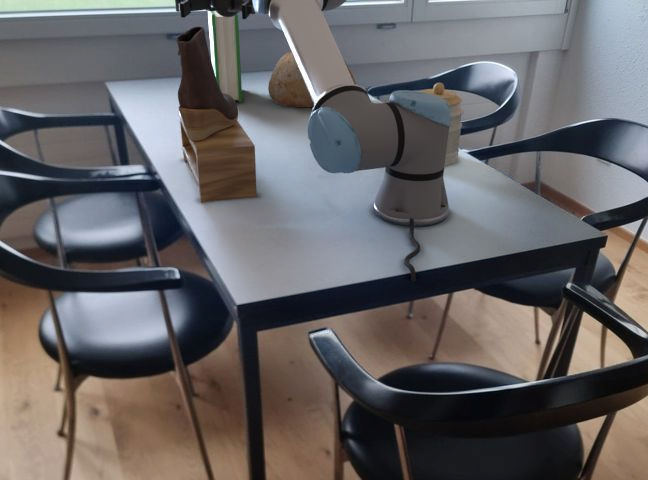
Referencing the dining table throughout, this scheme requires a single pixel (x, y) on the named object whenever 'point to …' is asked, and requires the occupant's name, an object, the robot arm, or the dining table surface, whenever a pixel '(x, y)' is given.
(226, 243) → the dining table surface
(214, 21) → the hardback book
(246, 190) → the shoe rack
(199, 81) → the boot
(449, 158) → the jar
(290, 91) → the bread
